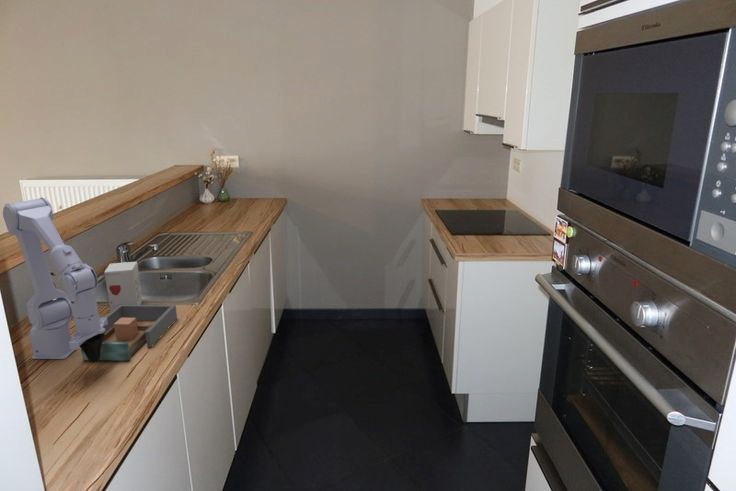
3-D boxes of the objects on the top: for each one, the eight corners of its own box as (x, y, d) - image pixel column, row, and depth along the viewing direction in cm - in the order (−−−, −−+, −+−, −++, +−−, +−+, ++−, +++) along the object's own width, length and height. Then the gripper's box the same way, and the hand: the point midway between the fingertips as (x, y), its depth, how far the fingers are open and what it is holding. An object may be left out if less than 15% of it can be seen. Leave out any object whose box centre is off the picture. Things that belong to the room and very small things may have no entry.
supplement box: (110, 314, 175) (102, 271, 170) (115, 303, 183) (109, 263, 178) (139, 311, 177) (132, 269, 172) (143, 300, 185) (137, 260, 180)
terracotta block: (116, 339, 154) (113, 324, 152) (123, 332, 158) (121, 317, 157) (131, 339, 154) (128, 324, 152) (138, 332, 158) (136, 317, 156)
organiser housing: (89, 347, 152) (86, 331, 151) (121, 318, 171) (119, 304, 169) (151, 347, 152) (149, 332, 150) (177, 319, 170) (175, 305, 168)
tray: (82, 360, 144) (79, 343, 143) (114, 332, 161) (111, 317, 159) (129, 360, 144) (126, 344, 142) (155, 332, 160) (153, 317, 159)
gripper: (85, 326, 128) (94, 375, 132) (115, 302, 141) (122, 347, 145) (57, 326, 128) (67, 375, 132) (89, 302, 142) (98, 347, 146)
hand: (94, 361), depth 139 cm, fingers closed
